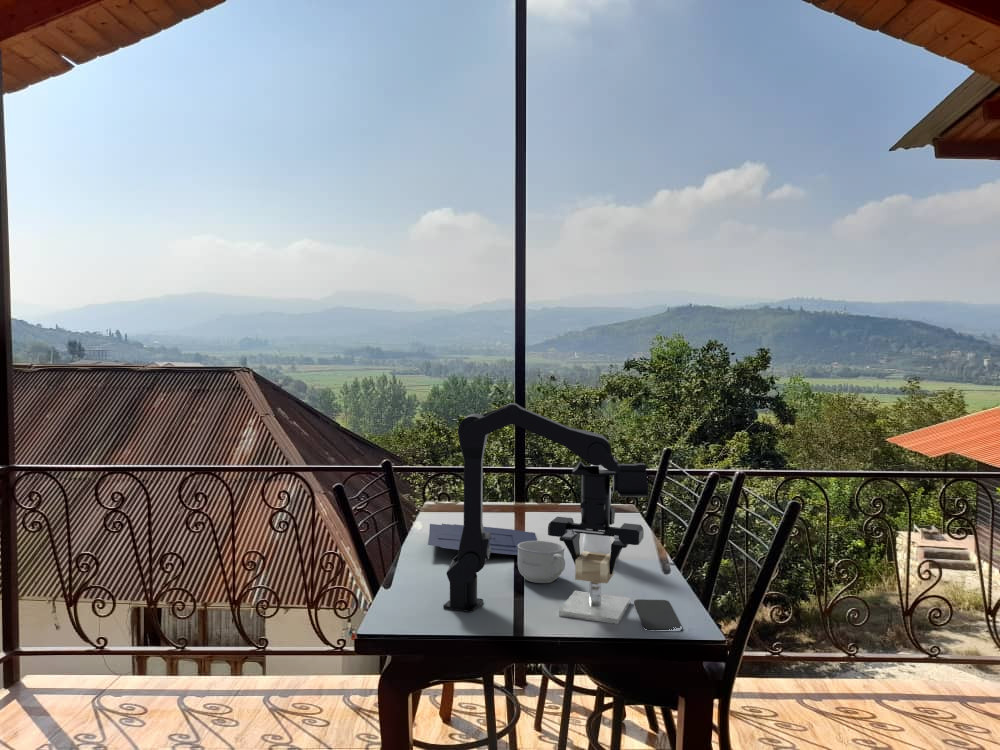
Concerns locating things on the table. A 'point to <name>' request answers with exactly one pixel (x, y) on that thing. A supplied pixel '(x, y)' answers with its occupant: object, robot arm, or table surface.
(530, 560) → the teacup
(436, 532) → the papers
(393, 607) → the table surface
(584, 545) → the water bottle
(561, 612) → the stand
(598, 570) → the collar
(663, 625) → the phone
